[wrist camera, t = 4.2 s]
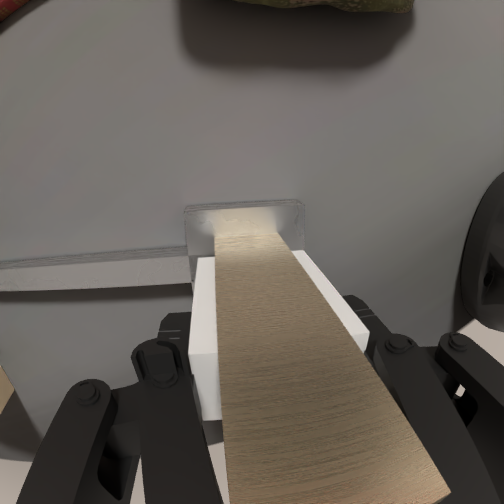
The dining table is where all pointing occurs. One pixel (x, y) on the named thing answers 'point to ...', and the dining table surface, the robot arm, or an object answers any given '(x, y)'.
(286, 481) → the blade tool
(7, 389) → the cabinet
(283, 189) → the dining table surface
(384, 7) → the decorative rock
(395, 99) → the dining table surface
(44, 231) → the dining table surface
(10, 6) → the pliers
